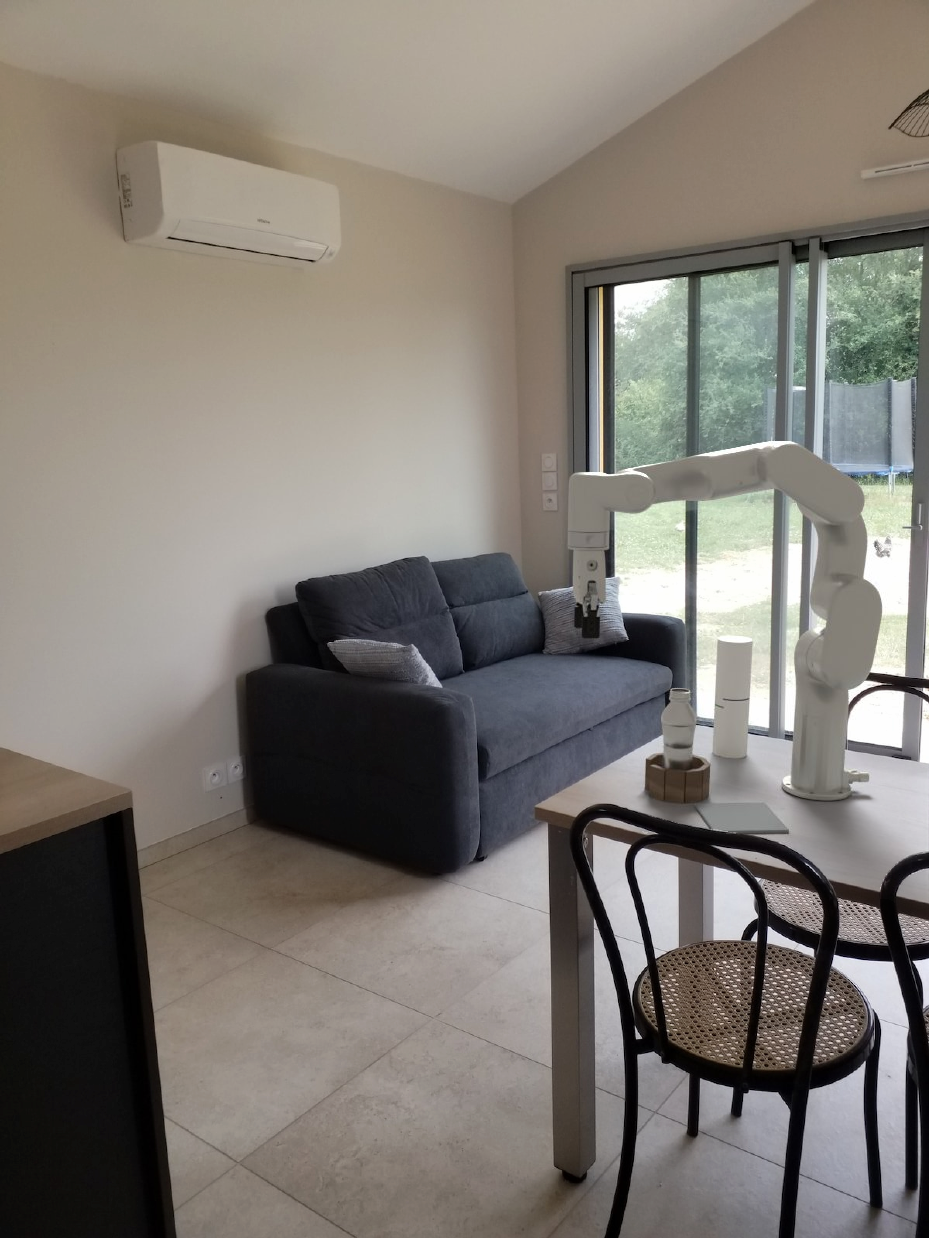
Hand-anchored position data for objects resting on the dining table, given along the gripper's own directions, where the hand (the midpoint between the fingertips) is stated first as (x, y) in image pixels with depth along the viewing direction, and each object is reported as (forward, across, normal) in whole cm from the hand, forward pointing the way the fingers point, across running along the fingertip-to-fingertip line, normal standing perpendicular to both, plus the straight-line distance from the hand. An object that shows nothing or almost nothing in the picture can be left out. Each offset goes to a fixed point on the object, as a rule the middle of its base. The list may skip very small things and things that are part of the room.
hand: (586, 632), depth 186 cm
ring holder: (+31, 0, -18) cm, 36 cm away
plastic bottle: (+31, 0, -18) cm, 36 cm away
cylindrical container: (+31, +23, -35) cm, 52 cm away
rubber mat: (+31, -14, -26) cm, 43 cm away
